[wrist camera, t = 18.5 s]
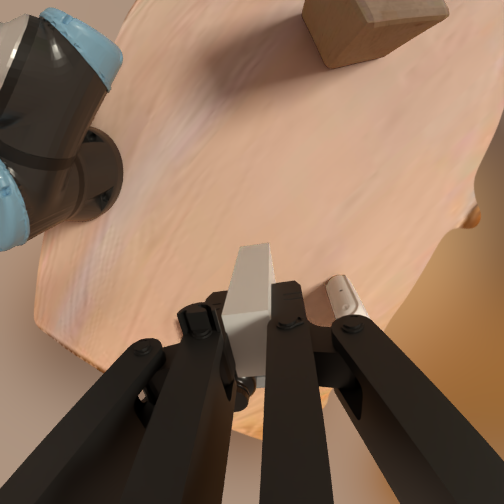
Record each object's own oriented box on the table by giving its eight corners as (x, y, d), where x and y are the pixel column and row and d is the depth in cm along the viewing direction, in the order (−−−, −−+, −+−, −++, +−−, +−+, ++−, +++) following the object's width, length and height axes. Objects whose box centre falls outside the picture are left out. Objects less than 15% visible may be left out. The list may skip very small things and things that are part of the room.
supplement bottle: (218, 364, 54) (208, 413, 43) (220, 334, 52) (208, 382, 40) (256, 368, 54) (253, 418, 43) (260, 338, 52) (257, 388, 40)
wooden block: (387, 57, 36) (456, 16, 17) (326, 71, 38) (366, 26, 19) (359, 1, 33) (407, -64, 14) (298, 13, 35) (315, -60, 16)
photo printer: (320, 282, 49) (334, 326, 37) (344, 268, 48) (365, 309, 36) (347, 327, 51) (363, 375, 40) (369, 316, 50) (390, 361, 39)
